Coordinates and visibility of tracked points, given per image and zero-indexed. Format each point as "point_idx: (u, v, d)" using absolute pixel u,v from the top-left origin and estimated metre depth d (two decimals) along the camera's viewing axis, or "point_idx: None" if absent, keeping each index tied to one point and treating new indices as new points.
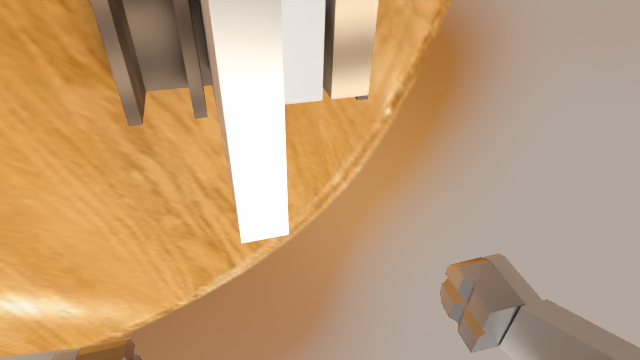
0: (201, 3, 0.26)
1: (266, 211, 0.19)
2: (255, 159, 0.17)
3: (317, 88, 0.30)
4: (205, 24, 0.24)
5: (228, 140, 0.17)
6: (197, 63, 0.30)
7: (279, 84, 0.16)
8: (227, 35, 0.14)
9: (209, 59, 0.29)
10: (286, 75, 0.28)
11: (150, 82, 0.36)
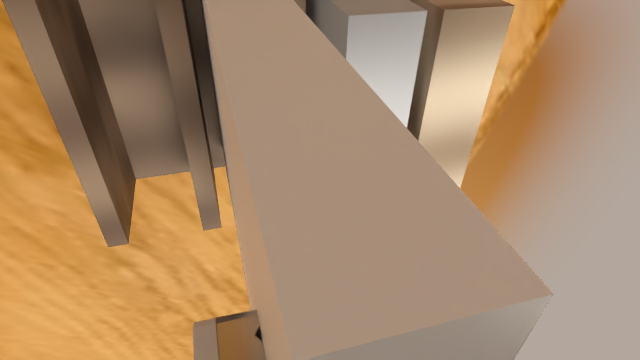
0: None
1: None
2: None
3: None
4: None
5: None
6: (208, 163, 0.20)
7: None
8: None
9: (226, 162, 0.19)
10: None
11: (141, 168, 0.26)
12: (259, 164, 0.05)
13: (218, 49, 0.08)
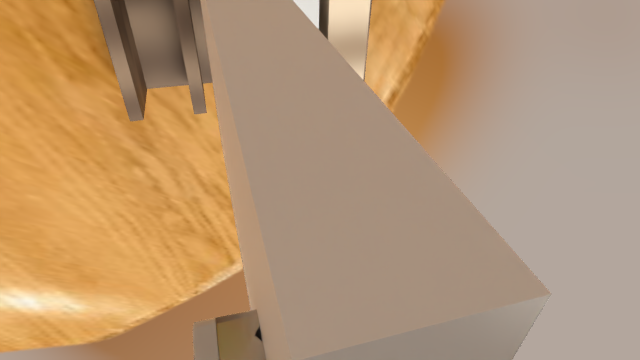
0: None
1: None
2: None
3: None
4: None
5: None
6: (196, 60, 0.31)
7: None
8: None
9: (226, 162, 0.19)
10: None
11: (151, 80, 0.37)
12: (259, 165, 0.05)
13: (218, 50, 0.08)
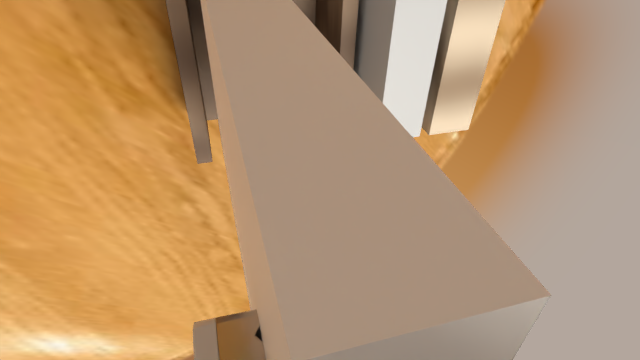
0: None
1: None
2: None
3: (417, 124, 0.26)
4: None
5: None
6: None
7: None
8: None
9: (226, 162, 0.19)
10: None
11: (212, 110, 0.32)
12: (259, 165, 0.05)
13: (218, 50, 0.08)
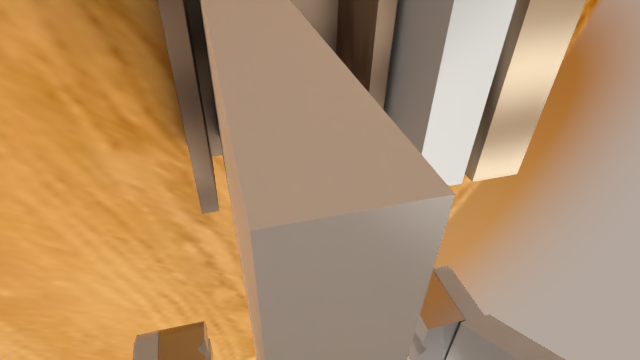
0: (212, 78, 0.17)
1: None
2: None
3: (459, 170, 0.22)
4: None
5: None
6: None
7: None
8: (298, 317, 0.05)
9: None
10: (425, 157, 0.21)
11: (218, 146, 0.29)
12: (237, 111, 0.06)
13: (208, 27, 0.09)
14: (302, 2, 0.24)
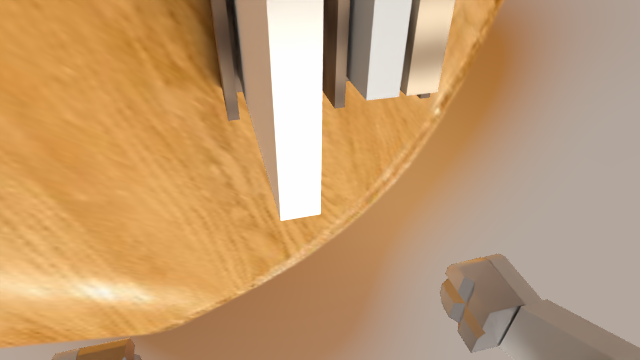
0: (239, 18, 0.30)
1: (302, 192, 0.23)
2: (296, 145, 0.21)
3: (396, 86, 0.34)
4: (245, 35, 0.27)
5: (275, 129, 0.20)
6: None
7: (318, 82, 0.19)
8: (280, 42, 0.17)
9: (243, 67, 0.33)
10: (371, 74, 0.33)
11: (237, 84, 0.41)
12: None
13: None
14: None
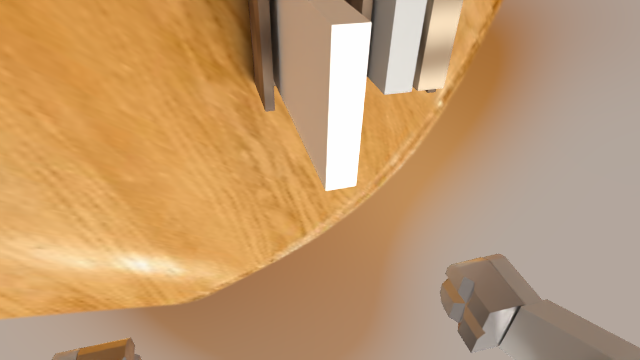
0: (283, 26, 0.36)
1: (344, 168, 0.29)
2: (342, 131, 0.27)
3: (409, 83, 0.41)
4: (291, 42, 0.33)
5: (328, 118, 0.26)
6: None
7: (363, 83, 0.25)
8: (338, 54, 0.24)
9: (282, 66, 0.39)
10: (389, 73, 0.39)
11: None
12: (321, 11, 0.25)
13: None
14: None
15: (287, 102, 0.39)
